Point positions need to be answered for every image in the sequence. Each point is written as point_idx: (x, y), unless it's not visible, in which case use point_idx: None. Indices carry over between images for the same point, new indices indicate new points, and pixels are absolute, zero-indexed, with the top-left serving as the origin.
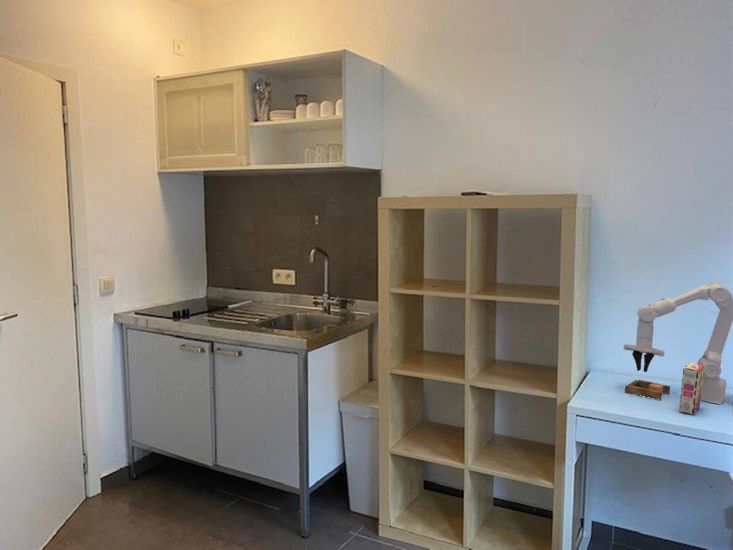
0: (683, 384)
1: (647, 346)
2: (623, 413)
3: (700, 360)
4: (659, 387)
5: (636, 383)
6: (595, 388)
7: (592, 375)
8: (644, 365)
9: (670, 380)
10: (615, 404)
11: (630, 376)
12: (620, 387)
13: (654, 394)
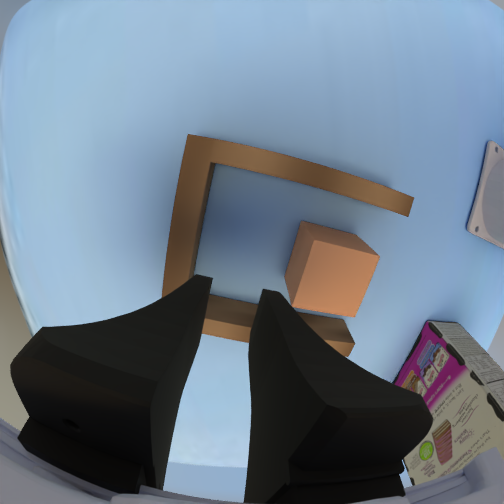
0: (415, 480)
1: None
2: (222, 462)
3: None
4: (351, 316)
5: (203, 198)
6: (58, 298)
7: (6, 100)
8: (254, 393)
9: None
10: (182, 427)
11: None
12: (128, 218)
13: None
